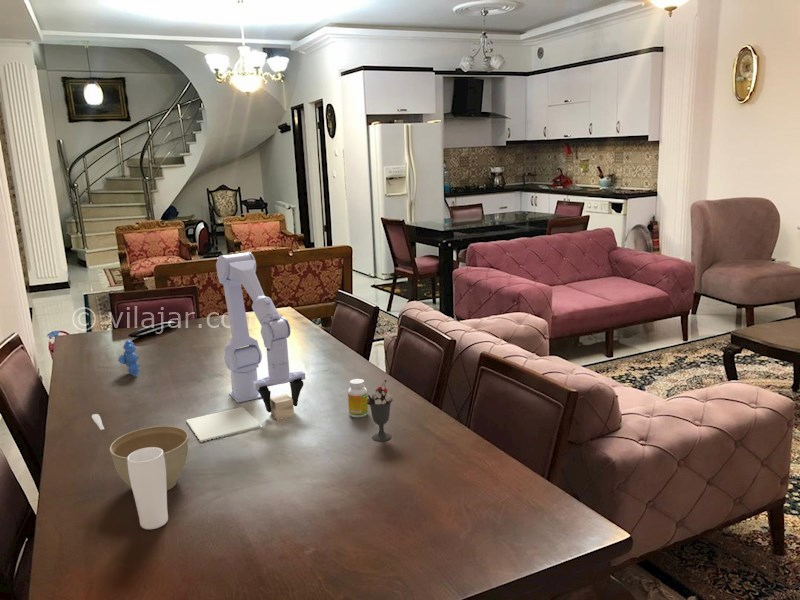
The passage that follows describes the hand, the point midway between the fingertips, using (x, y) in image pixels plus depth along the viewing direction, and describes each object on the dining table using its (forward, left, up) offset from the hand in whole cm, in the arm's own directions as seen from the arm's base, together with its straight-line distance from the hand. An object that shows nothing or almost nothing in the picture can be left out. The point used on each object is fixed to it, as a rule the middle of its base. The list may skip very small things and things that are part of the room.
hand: (282, 408), depth 180 cm
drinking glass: (+38, -41, -2) cm, 56 cm away
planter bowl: (+22, -38, -2) cm, 44 cm away
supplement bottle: (+12, +18, -2) cm, 22 cm away
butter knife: (-19, -44, -3) cm, 48 cm away
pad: (-3, -16, -2) cm, 16 cm away
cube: (0, 0, -2) cm, 2 cm away
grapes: (-64, -31, -2) cm, 71 cm away
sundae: (+29, +16, -2) cm, 33 cm away
